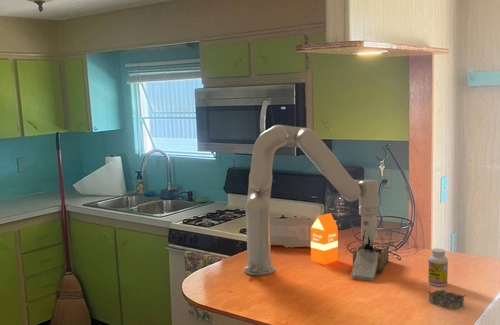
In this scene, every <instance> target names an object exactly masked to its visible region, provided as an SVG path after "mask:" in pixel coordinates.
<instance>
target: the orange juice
mask: <svg viewBox="0 0 500 325" xmlns="http://www.w3.org/2000/svg"><path fill="white" fill-rule="evenodd" d="M338 228H339V227H338V225H337V223H336V221H335V219H334V217H333V215H332V213H331V212H329V213H326V214H321V215H318V216H317V217H316V219H315V220H314V224H313V225H312V227H311V244H310V261H311V262H314V263H317V264H321V265H324V266H325V265H328V264H330V263H333V262H334V263H335V262H337V261H339V254H338V253H339V248H338V247H339V241H338V240H339V238H338V237H339V236H338V234H339V230H338Z"/></svg>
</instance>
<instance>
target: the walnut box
mask: <svg viewBox="0 0 500 325" xmlns="http://www.w3.org/2000/svg"><path fill="white" fill-rule="evenodd" d="M359 249H364V241H361V243H360V244H359V245H358V247H356V249H355V250H354V251H353V253H352V266H353V265H354V262H355V258H356V254H357V251H359ZM373 250H376V252H379V261H378V266H377V270H376V275H382V273H383V271H384V269H386V268H385V267H386V266H387V264H388V263H389V243H386V244H385V245H384V247H383V248H377V247H373Z"/></svg>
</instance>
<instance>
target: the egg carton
mask: <svg viewBox="0 0 500 325" xmlns="http://www.w3.org/2000/svg"><path fill="white" fill-rule="evenodd" d="M427 294H428V302H429V303H430V304H432V305H439V307H442V308H444V307H445V308H446V307H447V308H449V310H459V309H460V307H461V308H463V307H465V306H464V302H465V301H464V300H465V298H466V294H465V295H462V294H458V293H457V294H456V292H451V291H447V290H445V289H437V290H434V291H432V292H430V291H427Z"/></svg>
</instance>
